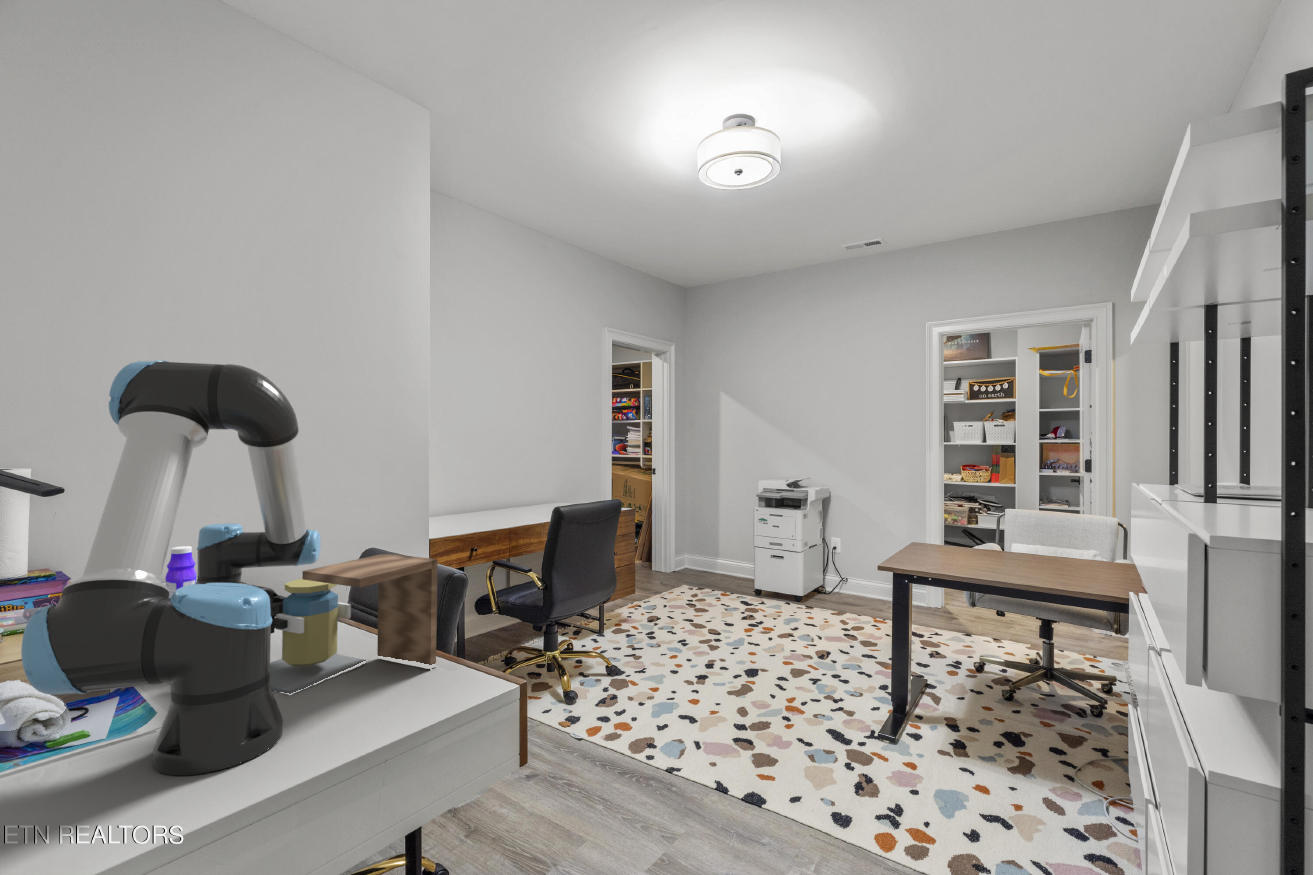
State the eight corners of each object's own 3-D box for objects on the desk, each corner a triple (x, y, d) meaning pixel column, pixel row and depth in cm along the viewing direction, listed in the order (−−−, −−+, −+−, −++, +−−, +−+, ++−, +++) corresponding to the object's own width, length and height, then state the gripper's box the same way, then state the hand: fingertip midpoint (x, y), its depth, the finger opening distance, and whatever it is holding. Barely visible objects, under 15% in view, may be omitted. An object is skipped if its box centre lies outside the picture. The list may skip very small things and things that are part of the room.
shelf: (435, 667, 116) (437, 559, 116) (357, 705, 99) (359, 578, 99) (383, 656, 121) (384, 553, 122) (300, 691, 104) (302, 571, 105)
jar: (306, 671, 107) (308, 589, 107) (270, 664, 110) (271, 585, 110) (347, 654, 116) (349, 578, 116) (312, 648, 119) (314, 574, 119)
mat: (366, 663, 117) (366, 659, 117) (289, 695, 103) (289, 691, 103) (310, 652, 123) (310, 648, 123) (230, 680, 109) (230, 676, 109)
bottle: (200, 615, 148) (201, 547, 148) (172, 621, 143) (173, 550, 143) (188, 611, 152) (189, 544, 152) (160, 616, 147) (161, 547, 147)
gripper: (299, 608, 130) (374, 621, 121) (189, 639, 110) (269, 657, 101) (300, 574, 130) (374, 585, 121) (189, 599, 110) (269, 614, 101)
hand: (326, 618), depth 111 cm, fingers closed on jar, 9 cm apart
